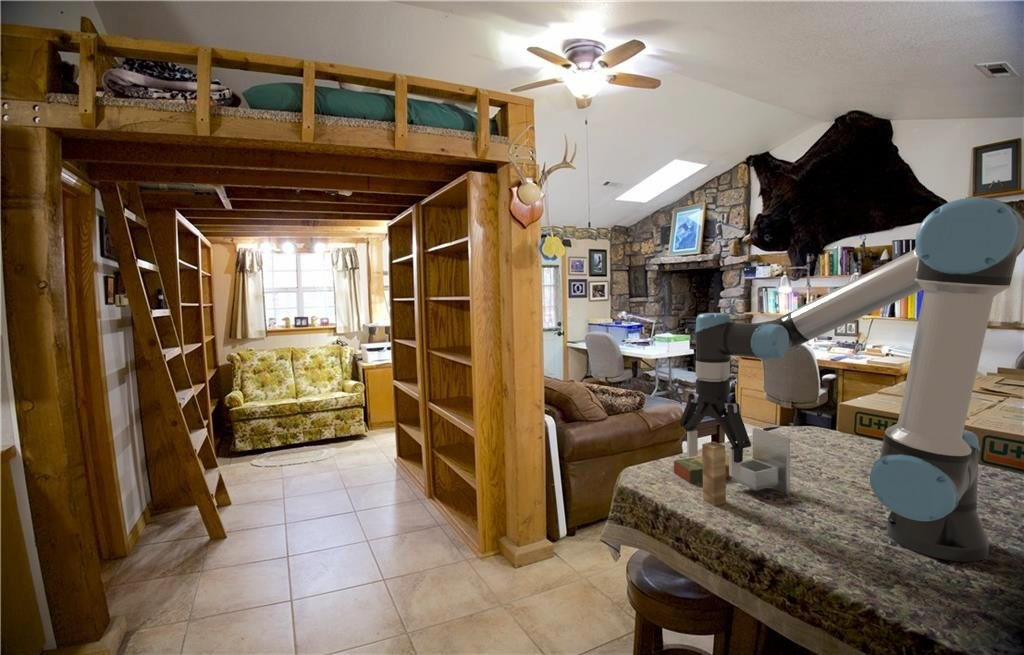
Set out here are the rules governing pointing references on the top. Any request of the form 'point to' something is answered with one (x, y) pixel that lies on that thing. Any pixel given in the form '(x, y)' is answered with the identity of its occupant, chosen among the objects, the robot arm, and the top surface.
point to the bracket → (767, 463)
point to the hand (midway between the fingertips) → (712, 465)
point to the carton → (694, 469)
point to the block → (714, 473)
